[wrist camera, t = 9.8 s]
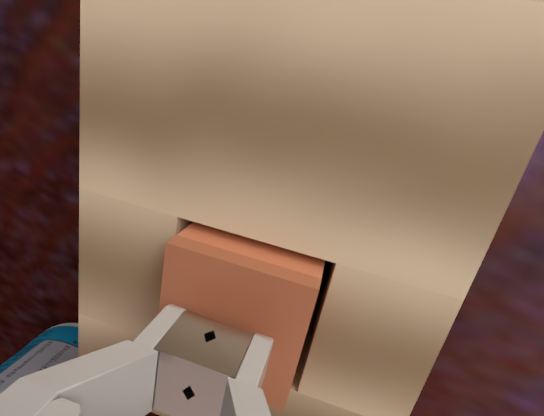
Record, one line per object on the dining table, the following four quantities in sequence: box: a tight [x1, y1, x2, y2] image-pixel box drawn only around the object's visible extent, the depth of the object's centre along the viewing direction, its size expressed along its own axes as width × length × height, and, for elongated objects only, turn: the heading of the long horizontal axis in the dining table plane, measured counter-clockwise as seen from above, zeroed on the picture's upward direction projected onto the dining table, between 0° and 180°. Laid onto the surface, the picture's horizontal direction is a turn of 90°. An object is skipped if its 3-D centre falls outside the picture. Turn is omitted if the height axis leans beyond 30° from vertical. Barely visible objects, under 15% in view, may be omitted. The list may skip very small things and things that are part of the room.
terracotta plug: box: [158, 222, 325, 412], centre depth 12 cm, size 4×4×6 cm
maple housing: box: [78, 0, 544, 416], centre depth 12 cm, size 24×12×6 cm, turn 169°
